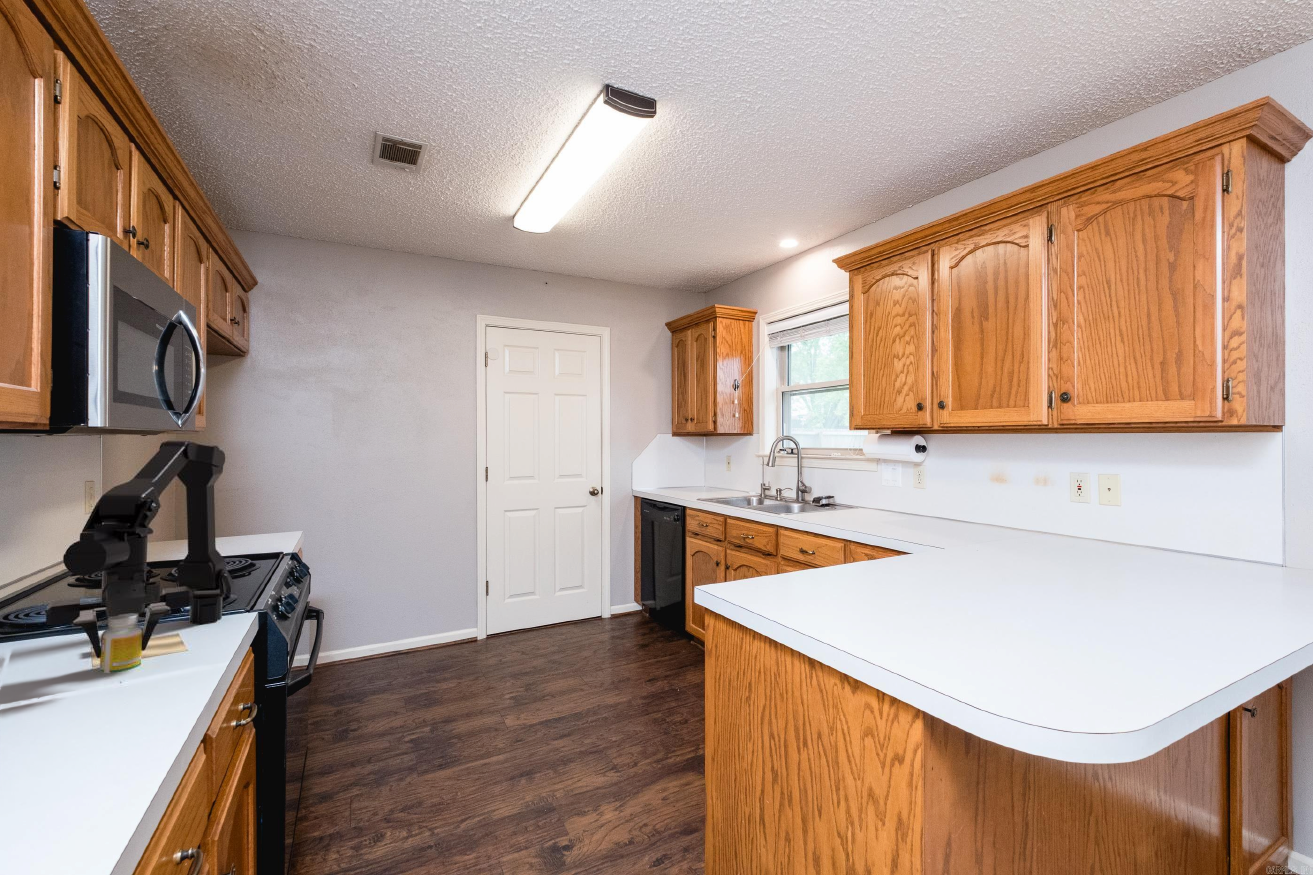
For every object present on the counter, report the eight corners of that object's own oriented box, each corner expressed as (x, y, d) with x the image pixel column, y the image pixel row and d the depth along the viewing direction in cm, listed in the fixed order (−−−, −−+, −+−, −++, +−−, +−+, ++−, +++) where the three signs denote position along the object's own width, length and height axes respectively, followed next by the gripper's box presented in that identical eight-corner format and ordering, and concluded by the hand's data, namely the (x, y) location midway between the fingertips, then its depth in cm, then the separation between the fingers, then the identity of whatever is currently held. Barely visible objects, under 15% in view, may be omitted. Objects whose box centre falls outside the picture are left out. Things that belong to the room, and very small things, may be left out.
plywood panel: (90, 651, 112) (91, 646, 112) (178, 636, 121) (178, 633, 121) (92, 671, 102) (92, 666, 102) (187, 654, 111) (187, 650, 111)
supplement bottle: (90, 676, 100) (92, 619, 100) (119, 665, 105) (121, 611, 106) (122, 677, 100) (124, 620, 100) (149, 666, 105) (151, 612, 105)
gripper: (46, 578, 91) (42, 681, 90) (199, 564, 104) (195, 653, 103) (49, 567, 99) (44, 661, 98) (190, 555, 112) (187, 638, 111)
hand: (121, 653), depth 103 cm, fingers closed on supplement bottle, 5 cm apart
